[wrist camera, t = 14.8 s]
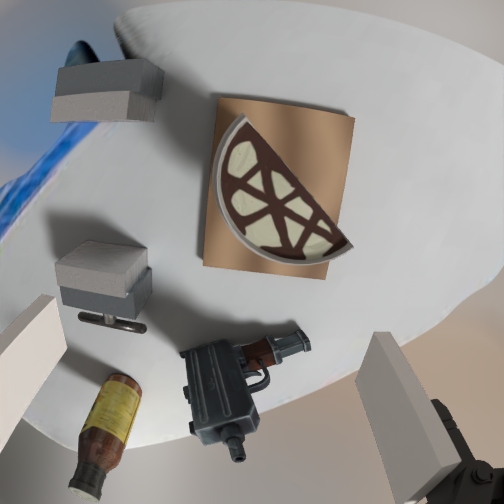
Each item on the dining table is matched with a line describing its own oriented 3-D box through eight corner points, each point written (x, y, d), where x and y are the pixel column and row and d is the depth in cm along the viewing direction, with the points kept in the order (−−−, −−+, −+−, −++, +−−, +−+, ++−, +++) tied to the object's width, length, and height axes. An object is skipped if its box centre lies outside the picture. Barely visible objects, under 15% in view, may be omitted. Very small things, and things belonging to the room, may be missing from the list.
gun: (360, 421, 24) (201, 477, 22) (296, 332, 39) (185, 368, 37) (360, 403, 23) (190, 463, 21) (293, 315, 38) (178, 352, 36)
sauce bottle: (102, 368, 40) (48, 473, 21) (140, 375, 40) (95, 491, 21) (111, 397, 42) (68, 495, 24) (147, 404, 42) (112, 511, 24)
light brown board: (204, 261, 33) (202, 265, 32) (220, 98, 27) (218, 97, 26) (323, 275, 34) (325, 279, 33) (351, 118, 28) (355, 117, 27)
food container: (197, 162, 28) (168, 175, 19) (246, 119, 27) (240, 110, 18) (280, 254, 32) (289, 304, 22) (328, 216, 30) (358, 253, 21)
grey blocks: (89, 307, 36) (64, 337, 30) (87, 75, 26) (52, 66, 19) (154, 319, 36) (136, 355, 30) (165, 71, 26) (141, 55, 20)
